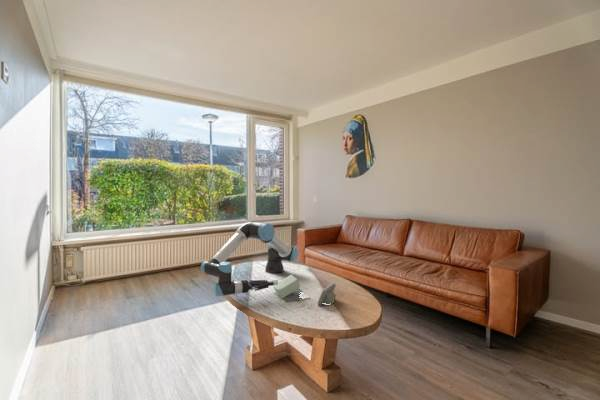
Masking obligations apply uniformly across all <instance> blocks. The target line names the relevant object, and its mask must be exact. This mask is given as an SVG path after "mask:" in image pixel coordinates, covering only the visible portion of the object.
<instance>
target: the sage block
mask: <svg viewBox="0 0 600 400" xmlns="http://www.w3.org/2000/svg"><path fill="white" fill-rule="evenodd" d="M272 287H274V290H275V292H276V293H277V295H278V296H279V297H280V298H281V299H284V297H286V296H287V295H289V294H290V293H292V292H293V291H295V290H297V289H298V288H299V289H301V285H300V283H299V280H298V278H297V277H295V276H294V275H293V274H290V275H288V276H286V277H284V278H283V279H281V280H280V281H278V285H273V286H272Z"/></svg>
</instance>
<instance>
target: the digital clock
mask: <svg viewBox="0 0 600 400" xmlns="http://www.w3.org/2000/svg"><path fill="white" fill-rule="evenodd" d="M335 288H336V283H334V282H331V284H329V285H327V286H326V287H325V288H323V289H322V290H321V292H320V295H319V297H318V300H317V306H319V305H320V306H322V305H323V304H322V303H326V304H330V303H332V302H333V301H334V300H335V301H336V293H335V292H334V291H335ZM321 304H322V305H321Z"/></svg>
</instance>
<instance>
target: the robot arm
mask: <svg viewBox="0 0 600 400" xmlns="http://www.w3.org/2000/svg"><path fill="white" fill-rule="evenodd" d="M248 239H255V240H259V241H260V242H262V243H263V244H268V247H267V263H266V265H265V269H264V271H265V272H266V273H269V274H279V273H282V272H284V269H285V268H284V265H283V261H287V262H290V263H295V262H296V261H297V259H298V257H299V249H298V247H296V246H292V245H291V244H290V243H287V242H284V240H282V239H281V238H280V237H279V236H278V235H277V234H276V231H275V227H274V225H273V224H272V223H269V222H260V221H255V220H254V221H247V222H245V223H244V224H242V225H240V226H239V228H237V229H236V230H235V232H234V234H233V236H232V237H230V238H229V240H228V241H227V242H225V244H224V245H223V246H222V247H221V248H220V249H219V250H218V251H217V252H216V253H215V254H214V255H213V256H212V257H211V258H210V259H209V260H205V261H203V262H201V265H200V269H199V270H200V272H201V273H203V274H205V275H209V276H212V277H215V278H218V282H217V283H215V284H214V294H215V296H216V297H224V296H225V297H226V296H231V295H238V294H239V295H240V294H246V293H248V292H249V291H250V290H251V291H252V290H254V291H255V292H257V291H260V290H264V289H269V288H270V286H272V287H274V286H273V285H278V282H279V280H278V279H276V280H274V279H273V280H268V279H257V280H256V279H255V280H254V279H253V280H251V279H250V280H249V281H248V280H247V279H243V280H235V281H234V280H233V281H232V279H233V278H232V277H233V274H232V272H233V269H232V263H231V262H230V261H228V259H229V258H230V256H232V254H233V253H234V252H235V251H236V250H237V249H238V248H239V247H240V246H241V244H243V242H246V241H247V240H248Z"/></svg>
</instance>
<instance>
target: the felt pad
mask: <svg viewBox="0 0 600 400" xmlns="http://www.w3.org/2000/svg"><path fill="white" fill-rule="evenodd" d="M300 292H304V291H303V290H302V289H301V288H298V289H297V290H295V291H293V292H292V293H290V294H289V295H287V296H286V297H284V298H283V300H284V301H285V302H286V301H287V302H286V303H290V301H292V302H296V300H298V301H301V300H300V299H302V298H299V297H300V296H299V295H300V294H301V293H300ZM299 293H300V294H299Z"/></svg>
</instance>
